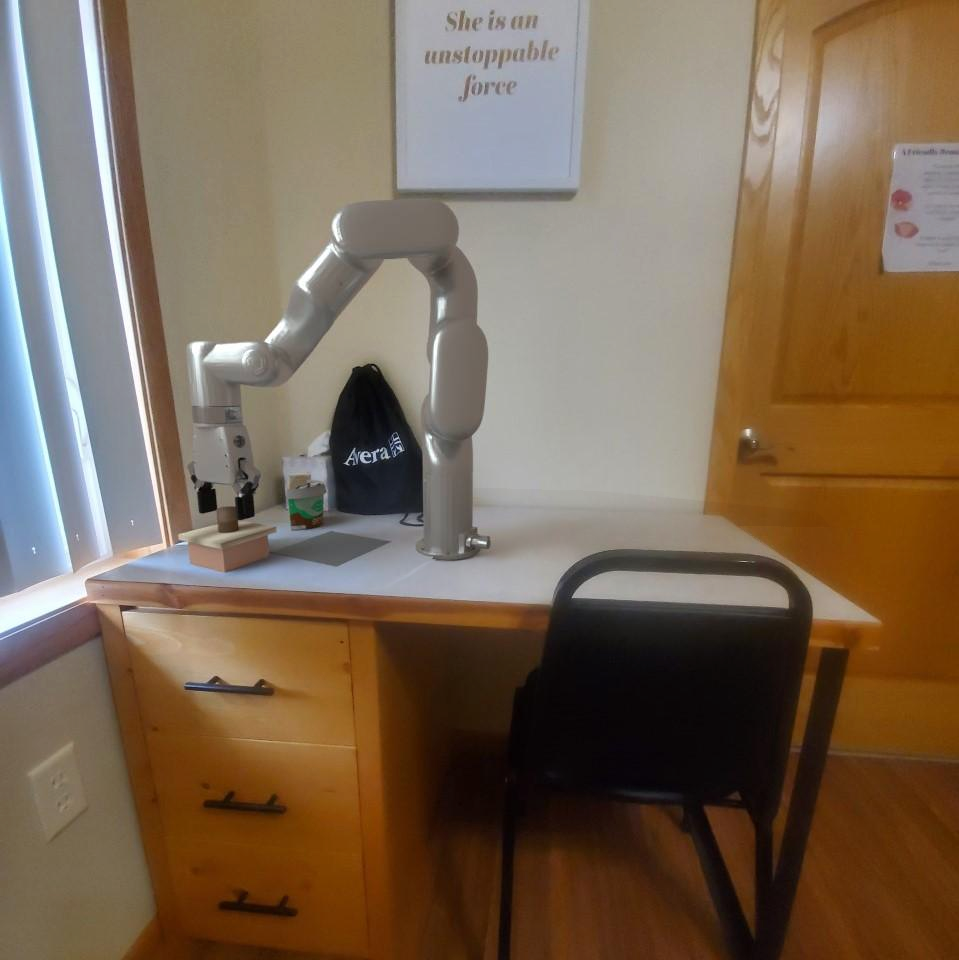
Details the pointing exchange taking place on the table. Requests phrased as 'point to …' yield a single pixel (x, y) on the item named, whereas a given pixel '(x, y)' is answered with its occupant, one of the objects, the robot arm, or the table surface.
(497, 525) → the table surface
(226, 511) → the lid
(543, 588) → the table surface
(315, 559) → the mat
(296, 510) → the food container
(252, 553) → the open square bin
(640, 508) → the table surface
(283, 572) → the table surface
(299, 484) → the box
